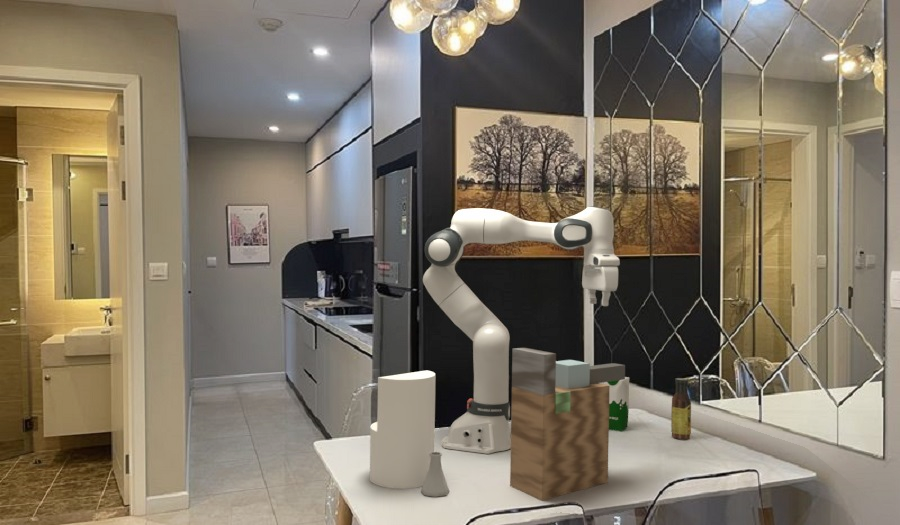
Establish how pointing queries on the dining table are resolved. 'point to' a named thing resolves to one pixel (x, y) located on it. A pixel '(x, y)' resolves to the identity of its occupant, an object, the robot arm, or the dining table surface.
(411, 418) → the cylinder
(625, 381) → the milk carton
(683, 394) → the sauce bottle
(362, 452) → the dining table surface
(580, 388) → the wood grain block
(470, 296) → the robot arm
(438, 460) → the flask
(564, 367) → the mallet
